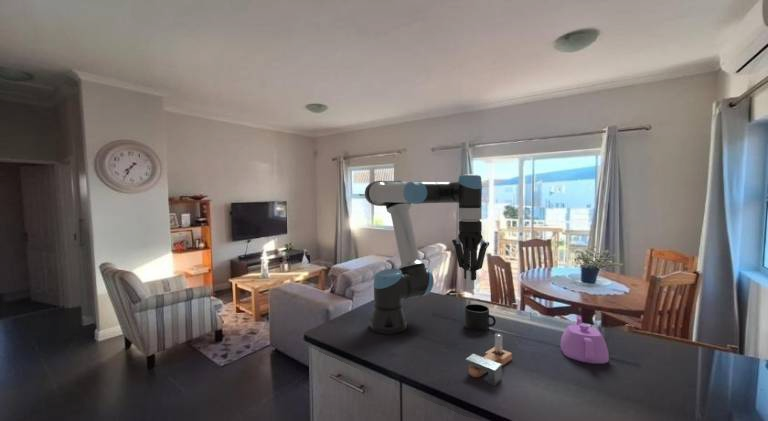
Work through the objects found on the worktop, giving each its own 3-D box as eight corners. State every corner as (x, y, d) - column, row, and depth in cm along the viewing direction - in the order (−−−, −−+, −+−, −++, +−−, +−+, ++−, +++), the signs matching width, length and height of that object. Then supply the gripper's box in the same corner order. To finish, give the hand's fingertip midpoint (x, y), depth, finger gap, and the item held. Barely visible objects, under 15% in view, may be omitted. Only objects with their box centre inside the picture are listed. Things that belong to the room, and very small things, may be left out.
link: (494, 352, 106) (495, 346, 106) (511, 359, 102) (511, 353, 101) (463, 371, 95) (463, 365, 95) (480, 380, 90) (480, 373, 90)
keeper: (465, 374, 94) (465, 359, 94) (472, 368, 97) (472, 353, 97) (494, 386, 88) (494, 370, 87) (501, 379, 91) (501, 364, 91)
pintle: (493, 359, 102) (493, 335, 102) (496, 356, 104) (496, 333, 103) (500, 362, 100) (500, 337, 100) (503, 359, 102) (503, 335, 102)
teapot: (599, 346, 112) (599, 316, 112) (616, 376, 94) (616, 340, 93) (556, 340, 117) (557, 311, 117) (564, 368, 99) (565, 333, 98)
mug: (493, 338, 120) (493, 314, 119) (462, 332, 125) (462, 309, 125) (497, 329, 128) (497, 307, 128) (467, 323, 134) (467, 302, 133)
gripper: (493, 220, 105) (493, 290, 106) (458, 218, 114) (459, 283, 115) (483, 222, 100) (482, 295, 101) (447, 220, 109) (447, 287, 110)
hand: (470, 288), depth 108 cm, fingers closed
